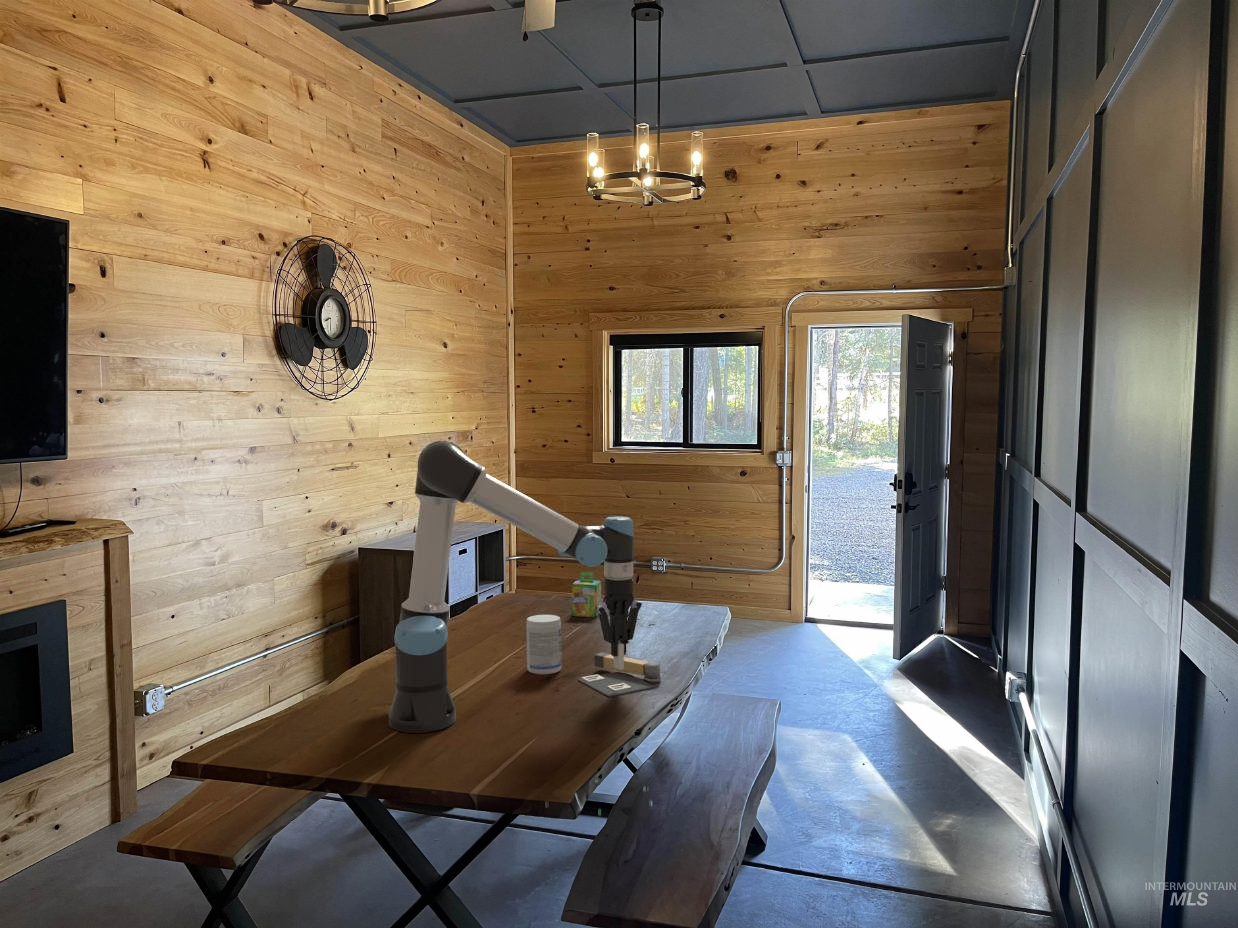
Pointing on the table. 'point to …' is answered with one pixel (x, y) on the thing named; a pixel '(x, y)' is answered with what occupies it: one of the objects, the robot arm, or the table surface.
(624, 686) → the label
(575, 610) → the chalk box
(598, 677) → the label
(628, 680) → the mat
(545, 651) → the supplement tub
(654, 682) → the pivot post
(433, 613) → the robot arm
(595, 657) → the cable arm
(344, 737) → the table surface
